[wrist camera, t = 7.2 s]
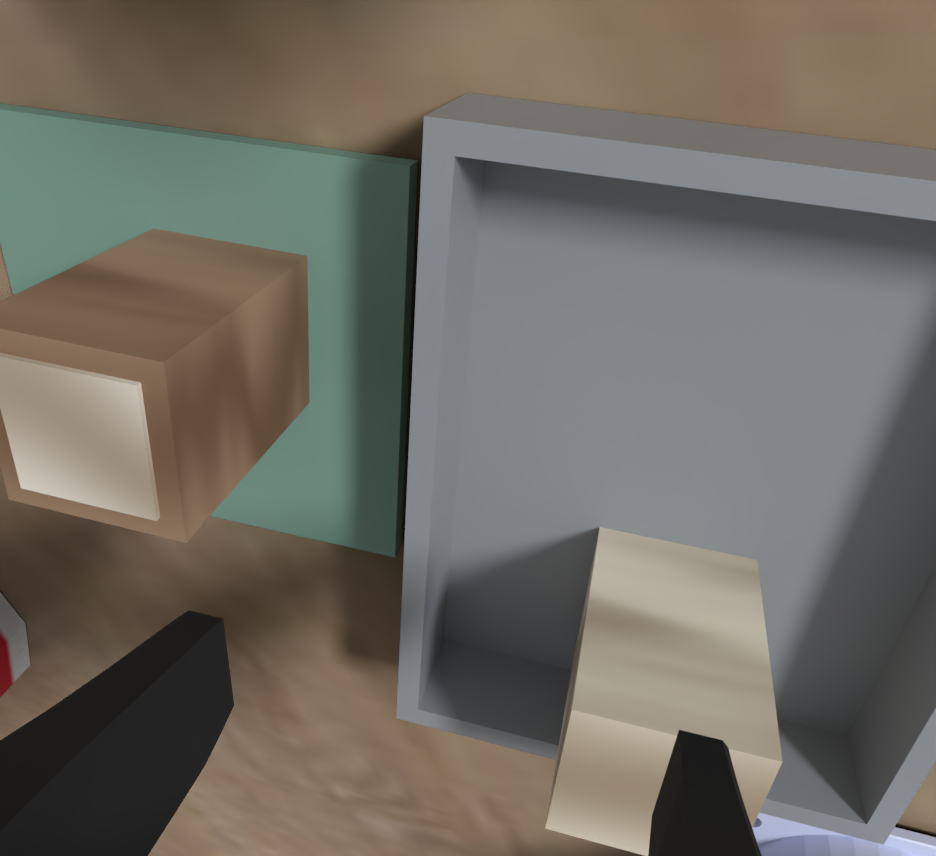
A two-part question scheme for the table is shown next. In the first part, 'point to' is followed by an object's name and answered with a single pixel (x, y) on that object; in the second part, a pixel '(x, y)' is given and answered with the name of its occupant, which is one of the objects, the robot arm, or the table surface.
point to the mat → (261, 225)
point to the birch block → (661, 684)
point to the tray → (677, 421)
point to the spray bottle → (12, 645)
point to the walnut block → (151, 379)
